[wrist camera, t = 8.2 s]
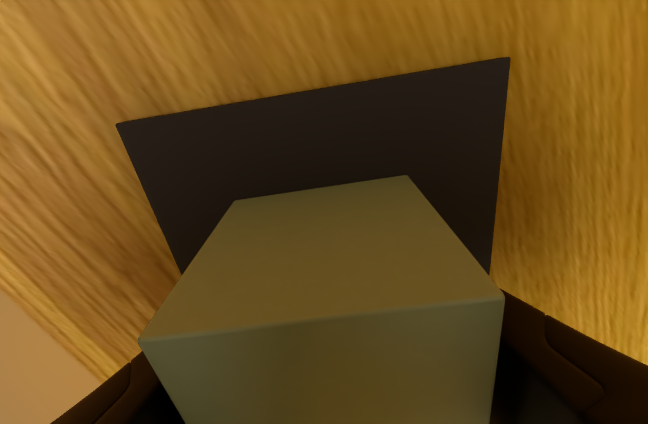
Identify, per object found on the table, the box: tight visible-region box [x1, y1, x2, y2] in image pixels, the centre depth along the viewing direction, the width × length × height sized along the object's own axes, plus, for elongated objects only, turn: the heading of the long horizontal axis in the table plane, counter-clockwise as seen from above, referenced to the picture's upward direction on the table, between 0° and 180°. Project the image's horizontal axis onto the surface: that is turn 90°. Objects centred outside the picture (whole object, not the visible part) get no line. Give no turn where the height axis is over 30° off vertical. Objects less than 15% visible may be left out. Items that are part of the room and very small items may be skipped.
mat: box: [116, 57, 510, 275], centre depth 10 cm, size 10×10×1 cm
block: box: [138, 175, 505, 424], centre depth 7 cm, size 5×5×5 cm
